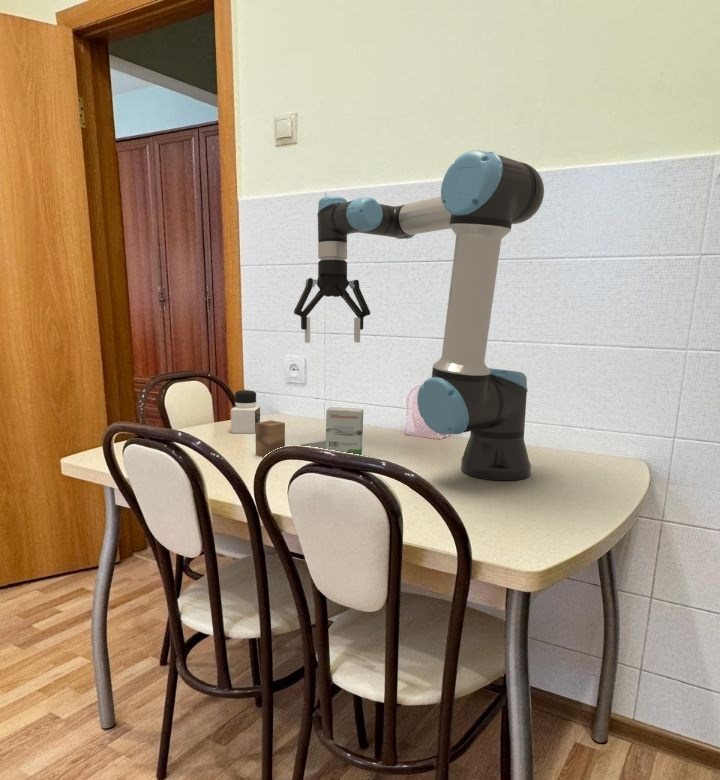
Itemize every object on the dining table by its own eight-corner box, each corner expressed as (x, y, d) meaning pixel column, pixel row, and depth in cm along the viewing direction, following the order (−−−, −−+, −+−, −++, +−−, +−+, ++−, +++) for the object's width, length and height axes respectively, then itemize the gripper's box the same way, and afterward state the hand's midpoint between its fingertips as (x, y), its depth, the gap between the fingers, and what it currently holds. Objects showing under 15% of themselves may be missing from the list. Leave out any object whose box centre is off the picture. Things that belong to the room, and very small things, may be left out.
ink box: (362, 454, 138) (364, 407, 136) (360, 460, 133) (362, 411, 131) (327, 452, 139) (329, 405, 137) (324, 458, 134) (326, 409, 132)
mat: (360, 450, 143) (361, 448, 143) (300, 460, 133) (300, 458, 133) (333, 441, 153) (333, 439, 153) (275, 449, 142) (275, 448, 142)
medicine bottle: (255, 433, 161) (255, 392, 159) (230, 433, 161) (230, 392, 159) (260, 429, 168) (260, 389, 166) (236, 428, 168) (236, 388, 167)
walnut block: (284, 454, 138) (284, 422, 137) (269, 458, 134) (269, 425, 133) (270, 451, 141) (270, 420, 140) (255, 455, 137) (255, 423, 136)
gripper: (372, 263, 153) (371, 341, 155) (282, 259, 144) (282, 342, 147) (382, 260, 146) (381, 342, 148) (288, 256, 137) (289, 343, 140)
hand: (332, 342), depth 147 cm, fingers open, 13 cm apart
